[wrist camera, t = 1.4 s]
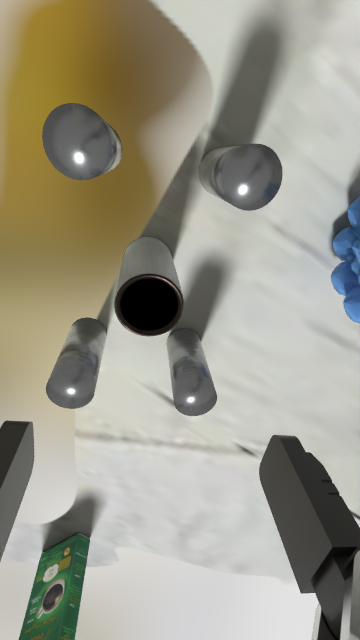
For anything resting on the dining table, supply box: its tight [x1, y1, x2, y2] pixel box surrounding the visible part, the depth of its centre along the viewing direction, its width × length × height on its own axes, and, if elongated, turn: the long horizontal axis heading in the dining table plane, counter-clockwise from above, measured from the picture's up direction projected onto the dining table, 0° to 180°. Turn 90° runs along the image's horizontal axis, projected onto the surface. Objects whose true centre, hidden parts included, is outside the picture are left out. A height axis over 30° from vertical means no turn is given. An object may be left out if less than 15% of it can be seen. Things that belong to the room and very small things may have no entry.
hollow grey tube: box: [114, 237, 184, 336], centre depth 25 cm, size 4×4×10 cm
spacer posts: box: [42, 103, 282, 416], centre depth 25 cm, size 21×14×9 cm, turn 170°
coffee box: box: [19, 533, 90, 640], centre depth 43 cm, size 8×3×13 cm, turn 125°
